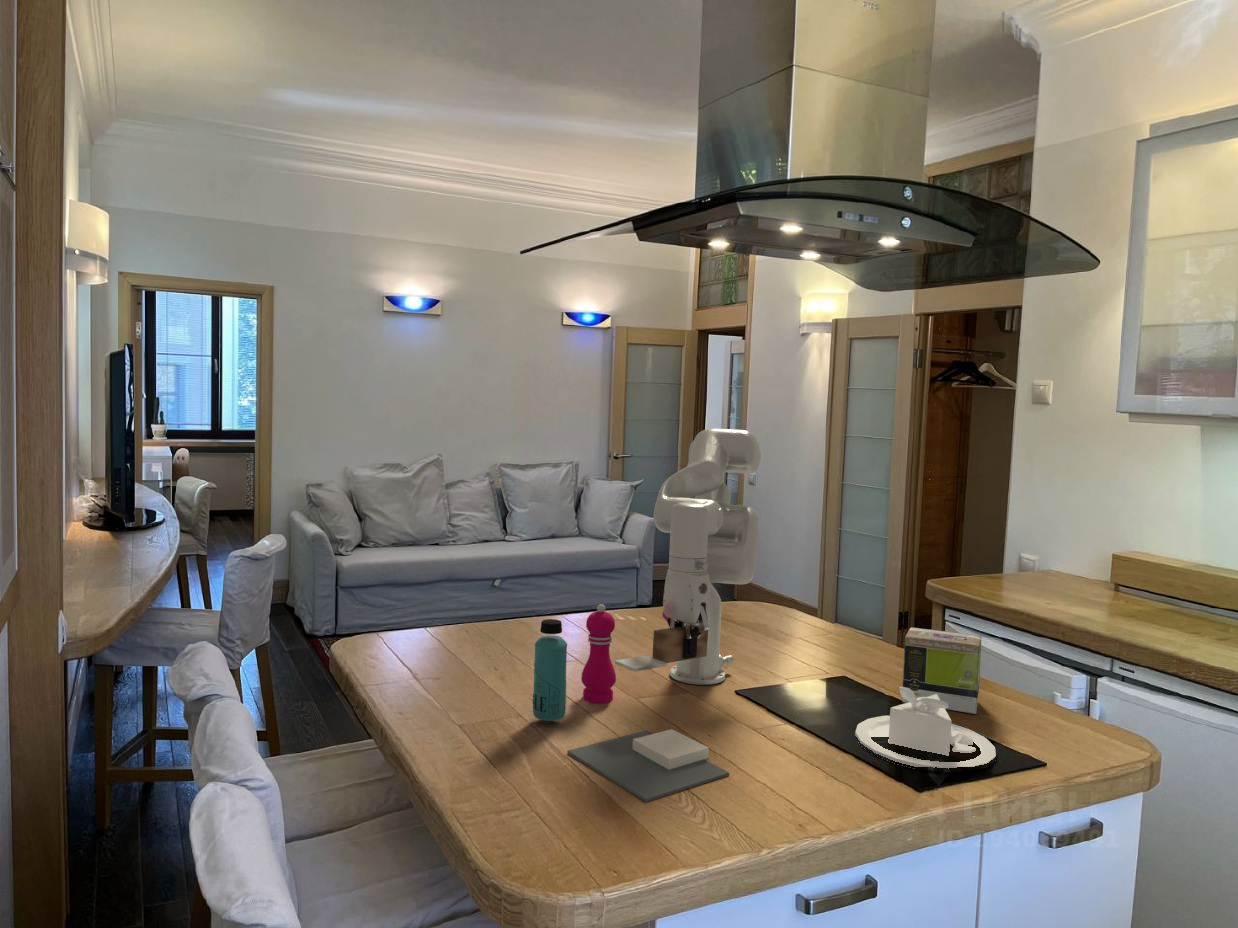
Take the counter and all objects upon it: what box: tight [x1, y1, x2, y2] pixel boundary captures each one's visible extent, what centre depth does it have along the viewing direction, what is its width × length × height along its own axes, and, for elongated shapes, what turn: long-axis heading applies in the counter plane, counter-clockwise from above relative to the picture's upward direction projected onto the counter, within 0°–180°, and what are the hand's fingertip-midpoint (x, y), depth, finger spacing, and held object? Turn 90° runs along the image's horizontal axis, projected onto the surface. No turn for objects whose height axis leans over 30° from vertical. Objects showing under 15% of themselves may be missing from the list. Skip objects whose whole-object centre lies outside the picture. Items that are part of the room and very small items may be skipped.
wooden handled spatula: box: [614, 626, 708, 673], centre depth 171 cm, size 20×6×6 cm, turn 127°
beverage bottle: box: [532, 618, 568, 722], centre depth 166 cm, size 6×7×20 cm
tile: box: [633, 728, 710, 770], centre depth 152 cm, size 2×10×9 cm
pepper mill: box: [581, 603, 617, 704], centre depth 180 cm, size 7×7×20 cm
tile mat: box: [567, 729, 730, 803], centre depth 149 cm, size 18×22×1 cm
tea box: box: [901, 626, 982, 715], centre depth 186 cm, size 15×10×15 cm, turn 65°
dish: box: [854, 686, 997, 769], centre depth 162 cm, size 25×25×11 cm
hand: (683, 654), depth 174 cm, fingers closed on wooden handled spatula, 2 cm apart
